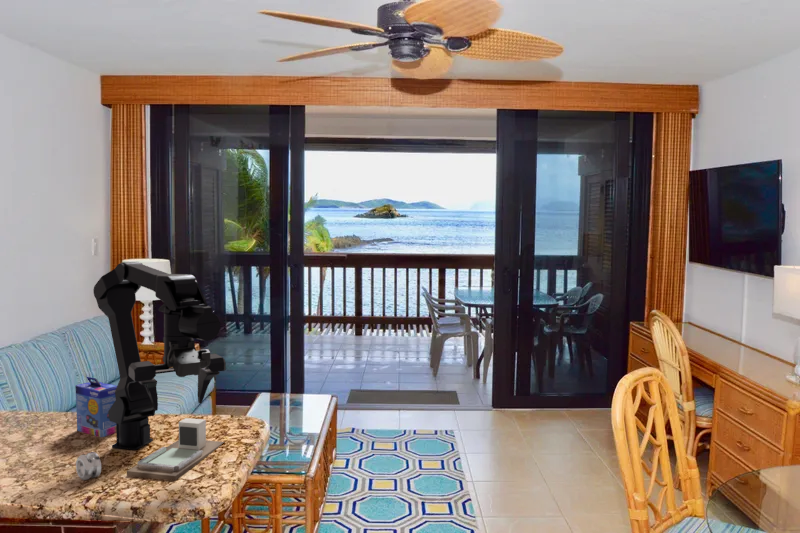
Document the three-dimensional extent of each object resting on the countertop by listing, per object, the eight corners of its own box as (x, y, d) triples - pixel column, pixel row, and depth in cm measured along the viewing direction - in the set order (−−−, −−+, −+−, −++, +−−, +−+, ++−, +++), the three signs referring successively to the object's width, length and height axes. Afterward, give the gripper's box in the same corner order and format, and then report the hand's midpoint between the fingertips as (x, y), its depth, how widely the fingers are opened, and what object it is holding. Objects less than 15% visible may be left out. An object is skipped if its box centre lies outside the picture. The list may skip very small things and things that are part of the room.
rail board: (126, 476, 123) (126, 470, 123) (181, 443, 142) (181, 437, 142) (175, 481, 120) (175, 475, 120) (224, 447, 140) (224, 441, 140)
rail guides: (135, 467, 124) (135, 463, 124) (163, 451, 134) (163, 446, 134) (177, 472, 122) (177, 467, 122) (202, 454, 132) (202, 450, 132)
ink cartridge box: (75, 433, 148) (73, 375, 147) (95, 427, 153) (94, 371, 152) (100, 440, 143) (99, 381, 142) (121, 434, 148) (120, 376, 147)
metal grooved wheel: (101, 479, 121) (101, 454, 121) (86, 483, 119) (86, 459, 119) (89, 472, 125) (89, 449, 124) (74, 477, 122) (74, 453, 122)
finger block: (177, 448, 135) (177, 422, 135) (186, 443, 139) (185, 418, 138) (198, 450, 134) (197, 424, 134) (205, 445, 137) (205, 419, 137)
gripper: (141, 345, 115) (142, 425, 116) (235, 336, 126) (235, 409, 127) (127, 335, 124) (128, 410, 125) (216, 328, 135) (216, 396, 136)
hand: (178, 406), depth 128 cm, fingers open, 9 cm apart
